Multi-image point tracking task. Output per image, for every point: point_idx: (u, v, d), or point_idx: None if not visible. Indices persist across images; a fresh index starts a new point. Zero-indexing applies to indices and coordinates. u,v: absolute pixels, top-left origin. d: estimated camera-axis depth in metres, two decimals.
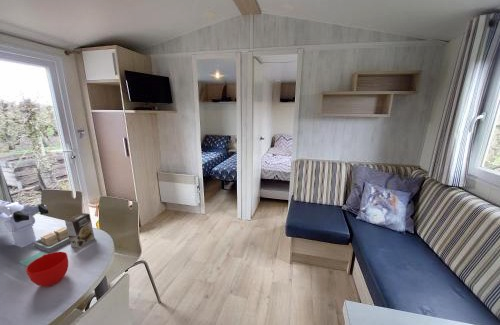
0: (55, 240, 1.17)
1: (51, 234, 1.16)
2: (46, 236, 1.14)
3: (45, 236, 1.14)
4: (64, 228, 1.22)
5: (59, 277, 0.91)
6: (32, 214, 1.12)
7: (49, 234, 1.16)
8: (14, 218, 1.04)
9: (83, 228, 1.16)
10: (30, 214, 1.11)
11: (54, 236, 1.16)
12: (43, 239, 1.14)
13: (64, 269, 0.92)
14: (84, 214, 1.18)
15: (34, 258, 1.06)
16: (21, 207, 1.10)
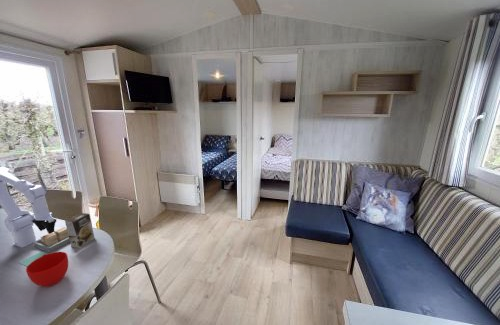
0: (55, 240, 1.17)
1: (51, 234, 1.16)
2: (46, 236, 1.14)
3: (45, 236, 1.14)
4: (64, 228, 1.22)
5: (59, 277, 0.91)
6: None
7: (49, 234, 1.16)
8: (50, 222, 1.10)
9: (83, 228, 1.16)
10: None
11: (54, 236, 1.16)
12: (43, 239, 1.14)
13: (64, 269, 0.92)
14: (84, 214, 1.18)
15: (34, 258, 1.06)
16: (48, 210, 1.14)
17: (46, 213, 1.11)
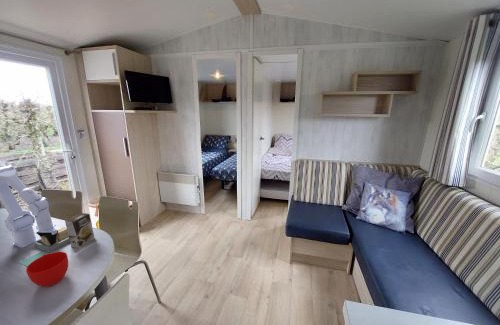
0: None
1: None
2: None
3: None
4: (64, 228, 1.22)
5: (59, 277, 0.91)
6: None
7: None
8: None
9: (83, 228, 1.16)
10: None
11: None
12: (43, 239, 1.14)
13: (64, 269, 0.92)
14: (84, 214, 1.18)
15: (34, 258, 1.06)
16: None
17: (49, 225, 1.13)
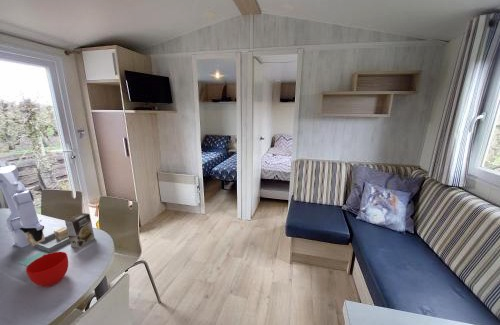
0: None
1: None
2: None
3: None
4: (64, 228, 1.22)
5: (59, 277, 0.91)
6: None
7: None
8: (36, 229, 1.03)
9: (83, 228, 1.16)
10: None
11: None
12: (28, 235, 1.04)
13: (64, 269, 0.92)
14: (84, 214, 1.18)
15: (34, 258, 1.06)
16: None
17: (34, 220, 1.04)
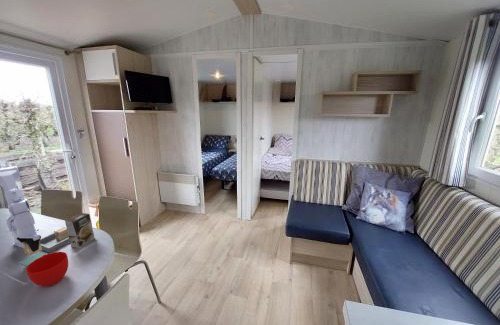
0: None
1: None
2: None
3: None
4: (64, 228, 1.22)
5: (59, 277, 0.91)
6: None
7: None
8: None
9: (83, 228, 1.16)
10: None
11: None
12: (24, 245, 1.02)
13: (64, 269, 0.92)
14: (84, 214, 1.18)
15: (34, 258, 1.06)
16: None
17: (31, 230, 1.01)
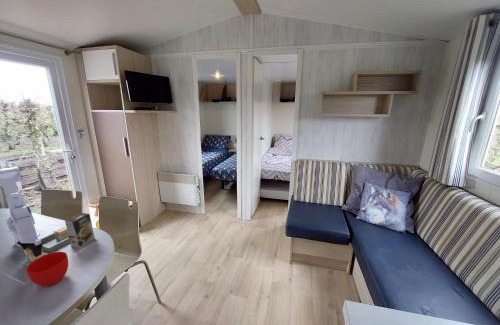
0: None
1: None
2: None
3: (29, 249, 1.04)
4: (64, 228, 1.22)
5: (59, 277, 0.91)
6: None
7: None
8: None
9: (83, 228, 1.16)
10: None
11: None
12: (27, 253, 1.03)
13: (64, 269, 0.92)
14: (84, 214, 1.18)
15: None
16: (35, 231, 1.04)
17: (32, 235, 1.02)
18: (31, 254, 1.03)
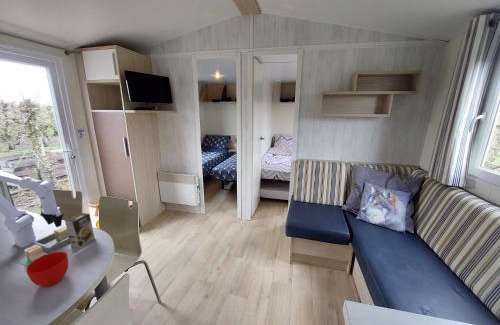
0: (40, 253, 1.06)
1: (36, 247, 1.05)
2: (30, 249, 1.04)
3: (29, 249, 1.04)
4: (64, 228, 1.22)
5: (59, 277, 0.91)
6: None
7: (34, 247, 1.05)
8: (57, 216, 1.16)
9: (83, 228, 1.16)
10: None
11: (39, 249, 1.05)
12: (27, 253, 1.03)
13: (64, 269, 0.92)
14: (84, 214, 1.18)
15: None
16: None
17: (54, 207, 1.16)
18: (31, 254, 1.03)
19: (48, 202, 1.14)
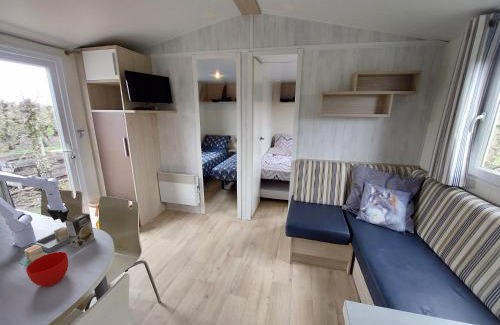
0: (40, 253, 1.06)
1: (36, 247, 1.05)
2: (30, 249, 1.04)
3: (29, 249, 1.04)
4: (64, 228, 1.22)
5: (59, 277, 0.91)
6: None
7: (34, 247, 1.05)
8: (63, 212, 1.20)
9: (83, 228, 1.16)
10: None
11: (39, 249, 1.05)
12: (27, 253, 1.03)
13: (64, 269, 0.92)
14: (84, 214, 1.18)
15: None
16: (61, 201, 1.23)
17: (60, 204, 1.21)
18: (31, 254, 1.03)
19: (56, 198, 1.19)
